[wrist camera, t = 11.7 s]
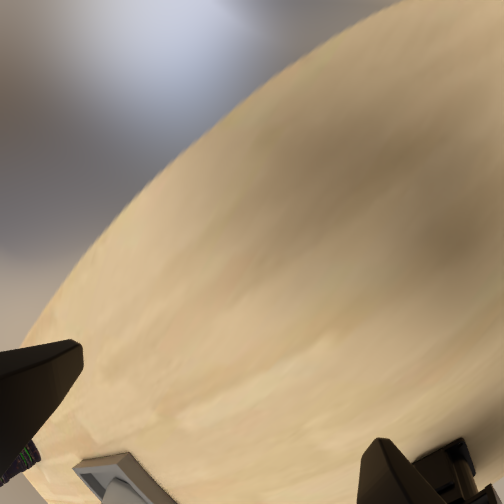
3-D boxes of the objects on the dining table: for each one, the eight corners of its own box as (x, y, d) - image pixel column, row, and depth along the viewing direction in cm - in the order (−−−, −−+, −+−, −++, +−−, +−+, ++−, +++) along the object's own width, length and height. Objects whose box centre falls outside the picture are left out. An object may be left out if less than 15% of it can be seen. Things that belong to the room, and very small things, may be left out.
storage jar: (31, 459, 37) (-15, 487, 23) (6, 419, 38) (-43, 443, 23) (47, 463, 34) (-4, 497, 20) (19, 418, 35) (-38, 448, 21)
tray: (198, 523, 25) (190, 536, 22) (139, 520, 28) (131, 530, 26) (128, 452, 26) (116, 464, 23) (82, 459, 29) (71, 468, 27)
